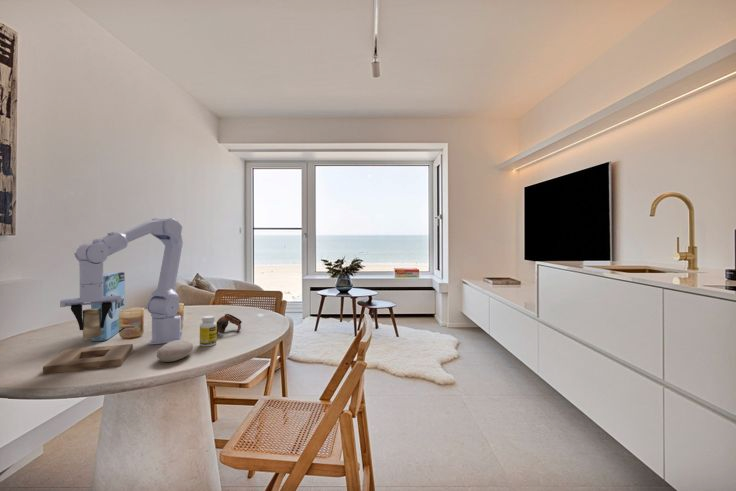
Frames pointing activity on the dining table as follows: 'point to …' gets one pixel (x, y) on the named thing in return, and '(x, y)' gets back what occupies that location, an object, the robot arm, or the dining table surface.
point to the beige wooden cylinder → (91, 323)
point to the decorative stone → (174, 350)
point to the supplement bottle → (208, 331)
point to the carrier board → (88, 358)
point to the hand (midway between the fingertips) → (91, 328)
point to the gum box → (111, 287)
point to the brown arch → (223, 323)
